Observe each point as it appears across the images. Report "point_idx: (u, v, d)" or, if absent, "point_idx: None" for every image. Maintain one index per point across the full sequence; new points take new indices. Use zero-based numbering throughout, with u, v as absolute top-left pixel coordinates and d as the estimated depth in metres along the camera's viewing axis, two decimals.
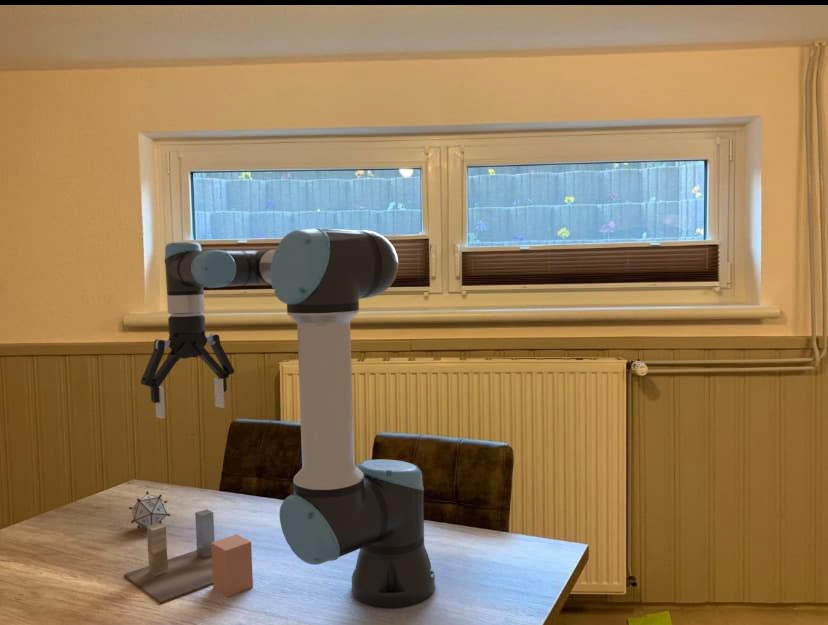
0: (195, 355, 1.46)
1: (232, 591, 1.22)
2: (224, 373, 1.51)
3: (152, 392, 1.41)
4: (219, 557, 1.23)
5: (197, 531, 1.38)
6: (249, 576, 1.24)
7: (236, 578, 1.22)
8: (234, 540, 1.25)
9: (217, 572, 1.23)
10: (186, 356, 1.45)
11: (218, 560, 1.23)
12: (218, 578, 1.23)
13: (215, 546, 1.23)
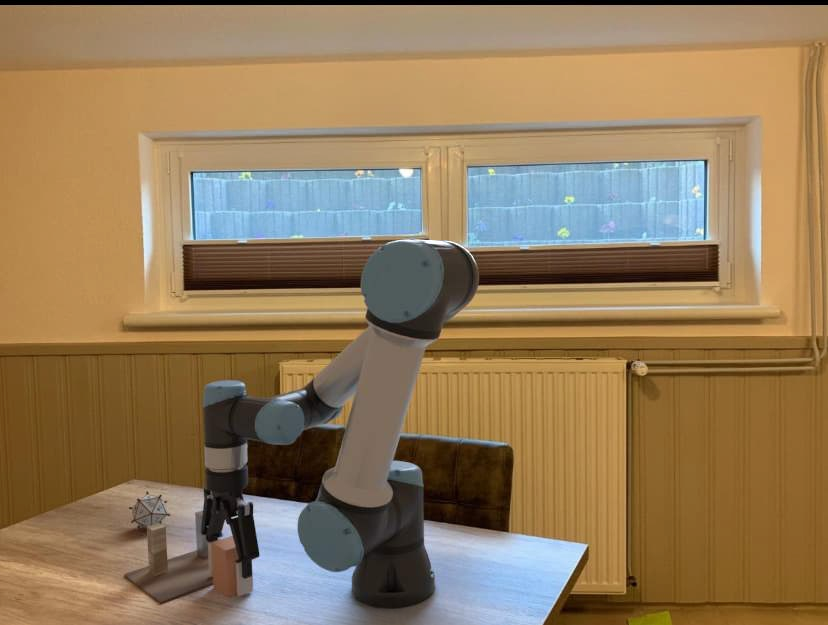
0: None
1: (232, 591, 1.22)
2: (240, 556, 1.20)
3: None
4: (219, 557, 1.23)
5: (197, 531, 1.38)
6: None
7: (236, 578, 1.22)
8: None
9: (217, 572, 1.23)
10: (220, 513, 1.24)
11: (218, 560, 1.23)
12: (218, 578, 1.23)
13: (215, 546, 1.23)
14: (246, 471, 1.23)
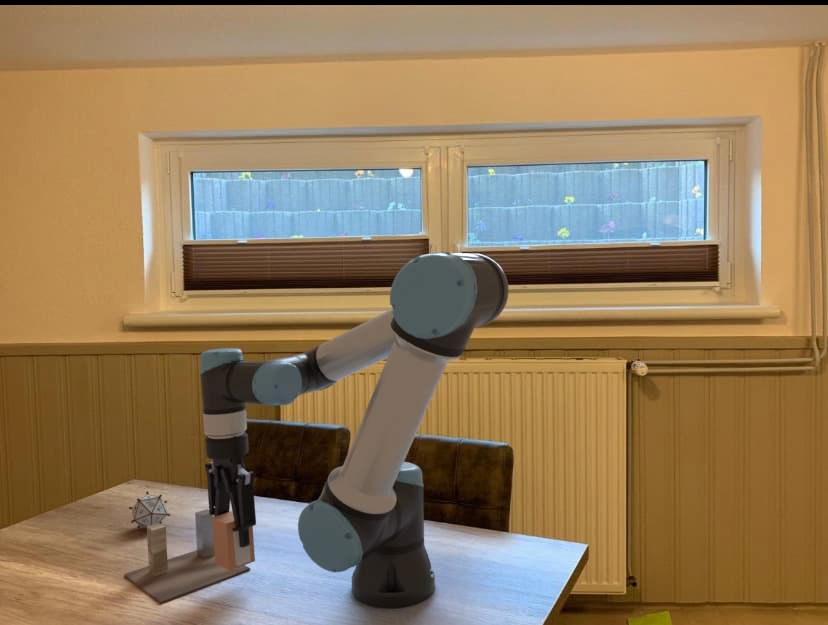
0: None
1: (234, 564, 1.21)
2: (237, 525, 1.20)
3: None
4: (220, 531, 1.22)
5: (197, 531, 1.38)
6: (250, 550, 1.24)
7: None
8: None
9: (218, 546, 1.23)
10: (221, 482, 1.23)
11: (219, 534, 1.22)
12: (220, 552, 1.23)
13: (216, 520, 1.23)
14: (246, 438, 1.23)
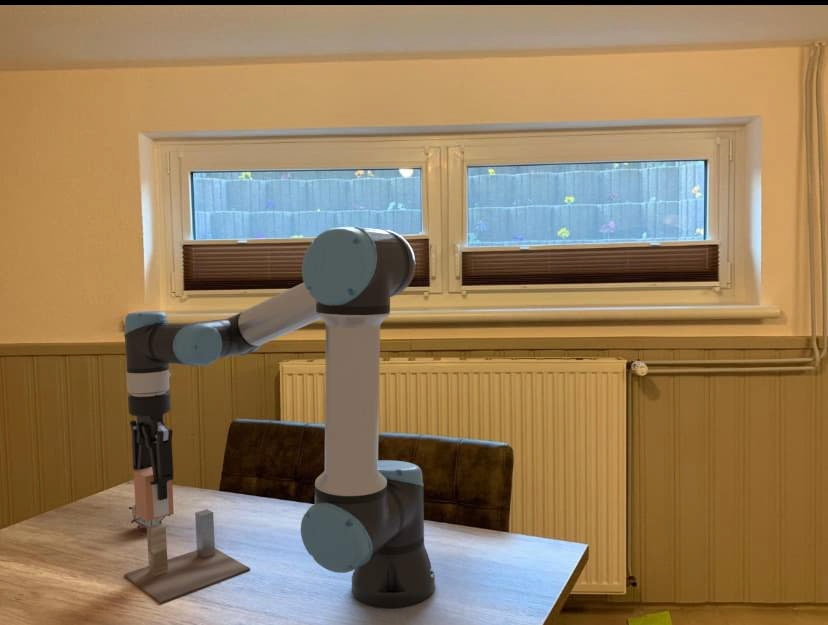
0: None
1: (152, 516, 1.28)
2: (155, 478, 1.26)
3: None
4: (140, 484, 1.28)
5: (197, 531, 1.38)
6: (169, 503, 1.30)
7: None
8: None
9: (138, 498, 1.29)
10: (143, 438, 1.30)
11: (139, 487, 1.29)
12: (139, 504, 1.29)
13: (136, 474, 1.29)
14: (167, 397, 1.29)
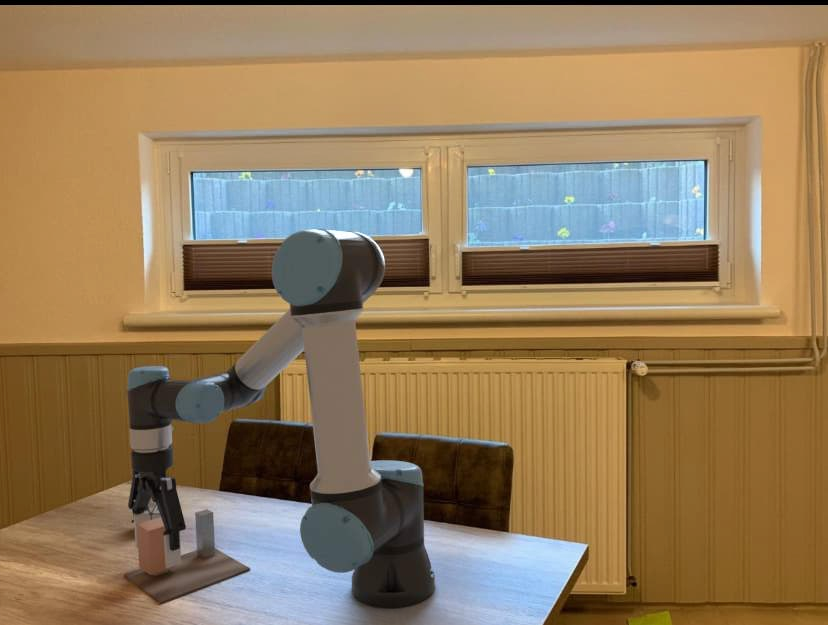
0: None
1: (155, 569, 1.28)
2: (167, 528, 1.24)
3: None
4: (143, 537, 1.29)
5: (197, 531, 1.38)
6: None
7: (159, 557, 1.29)
8: (159, 521, 1.32)
9: (142, 552, 1.30)
10: (146, 492, 1.30)
11: (142, 540, 1.29)
12: (143, 557, 1.30)
13: (140, 527, 1.30)
14: (170, 452, 1.29)
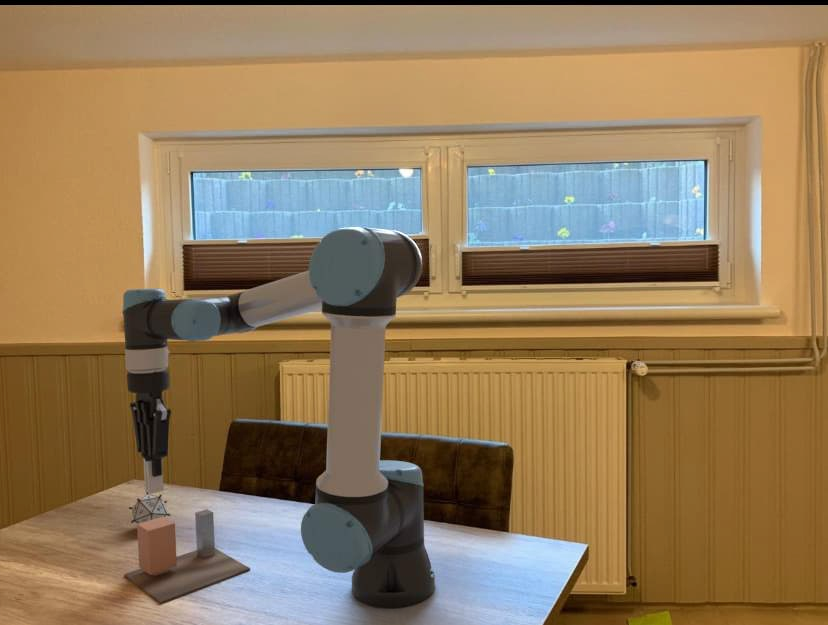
0: None
1: (155, 569, 1.28)
2: (149, 455, 1.28)
3: None
4: (143, 537, 1.29)
5: (197, 531, 1.38)
6: (172, 555, 1.31)
7: (159, 557, 1.29)
8: (159, 521, 1.32)
9: (142, 552, 1.30)
10: (142, 416, 1.29)
11: (142, 540, 1.29)
12: (143, 557, 1.30)
13: (140, 527, 1.30)
14: (166, 374, 1.28)
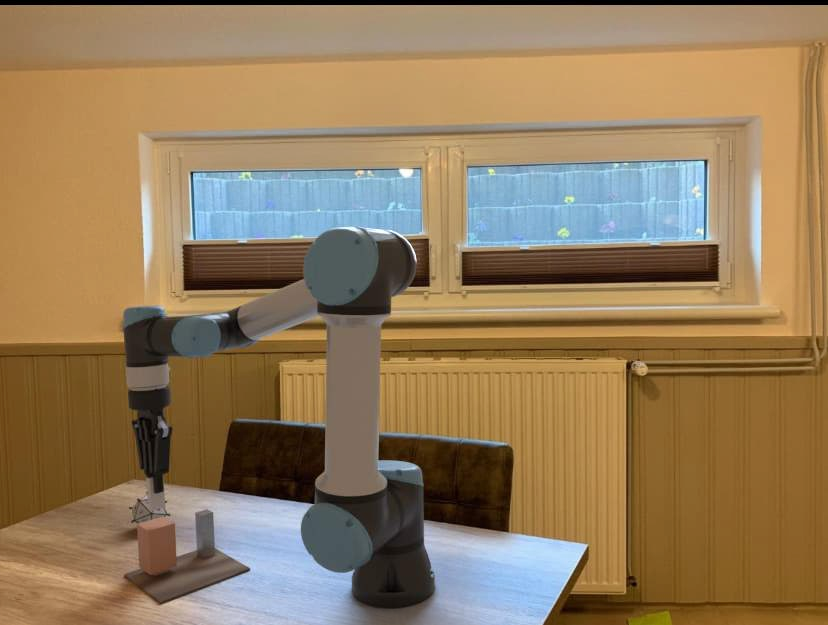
0: None
1: (155, 569, 1.28)
2: (151, 472, 1.28)
3: None
4: (143, 537, 1.29)
5: (197, 531, 1.38)
6: (172, 555, 1.31)
7: (159, 557, 1.29)
8: (159, 521, 1.32)
9: (142, 552, 1.30)
10: (144, 433, 1.29)
11: (142, 540, 1.29)
12: (143, 557, 1.30)
13: (140, 527, 1.30)
14: (167, 391, 1.29)
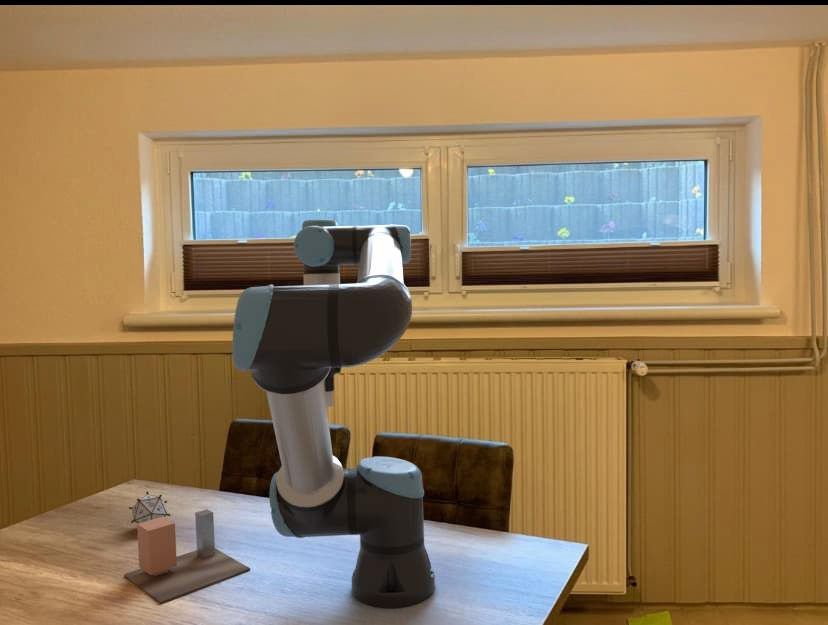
0: None
1: (155, 569, 1.28)
2: None
3: None
4: (143, 537, 1.29)
5: (197, 531, 1.38)
6: (172, 555, 1.31)
7: (159, 557, 1.29)
8: (159, 521, 1.32)
9: (142, 552, 1.30)
10: None
11: (142, 540, 1.29)
12: (143, 557, 1.30)
13: (140, 527, 1.30)
14: None
